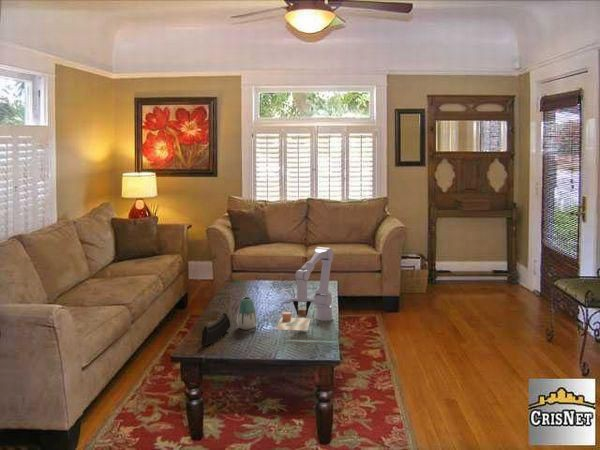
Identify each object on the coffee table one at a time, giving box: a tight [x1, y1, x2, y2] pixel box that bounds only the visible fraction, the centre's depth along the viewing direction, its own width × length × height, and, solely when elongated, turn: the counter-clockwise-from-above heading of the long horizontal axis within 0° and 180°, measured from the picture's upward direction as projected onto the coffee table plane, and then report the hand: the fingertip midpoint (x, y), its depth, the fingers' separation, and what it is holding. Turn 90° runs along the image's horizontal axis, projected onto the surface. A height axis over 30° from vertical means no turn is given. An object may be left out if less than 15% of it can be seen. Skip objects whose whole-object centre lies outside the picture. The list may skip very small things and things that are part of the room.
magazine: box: [200, 312, 231, 346], centre depth 330 cm, size 17×3×30 cm
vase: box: [236, 296, 258, 331], centre depth 349 cm, size 12×12×18 cm
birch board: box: [275, 316, 312, 331], centre depth 355 cm, size 18×24×1 cm
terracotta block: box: [282, 311, 292, 321], centre depth 363 cm, size 5×5×4 cm
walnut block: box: [297, 307, 307, 318], centre depth 346 cm, size 5×5×4 cm
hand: (302, 314), depth 346 cm, fingers closed on walnut block, 5 cm apart
